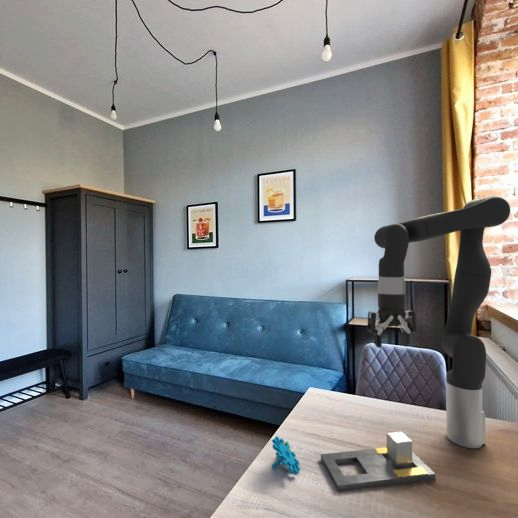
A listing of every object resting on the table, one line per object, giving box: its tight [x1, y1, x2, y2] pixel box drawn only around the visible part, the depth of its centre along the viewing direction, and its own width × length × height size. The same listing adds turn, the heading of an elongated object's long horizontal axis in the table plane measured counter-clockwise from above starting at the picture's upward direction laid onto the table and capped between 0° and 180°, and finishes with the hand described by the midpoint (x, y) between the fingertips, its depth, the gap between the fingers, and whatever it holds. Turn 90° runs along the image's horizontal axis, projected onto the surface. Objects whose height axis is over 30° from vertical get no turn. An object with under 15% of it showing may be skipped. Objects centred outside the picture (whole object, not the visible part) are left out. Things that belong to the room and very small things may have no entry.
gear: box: [271, 435, 301, 475], centre depth 83 cm, size 11×6×10 cm
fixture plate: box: [320, 446, 436, 493], centre depth 82 cm, size 26×12×2 cm, turn 99°
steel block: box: [386, 431, 413, 470], centre depth 83 cm, size 4×4×8 cm
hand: (391, 346), depth 91 cm, fingers open, 8 cm apart
